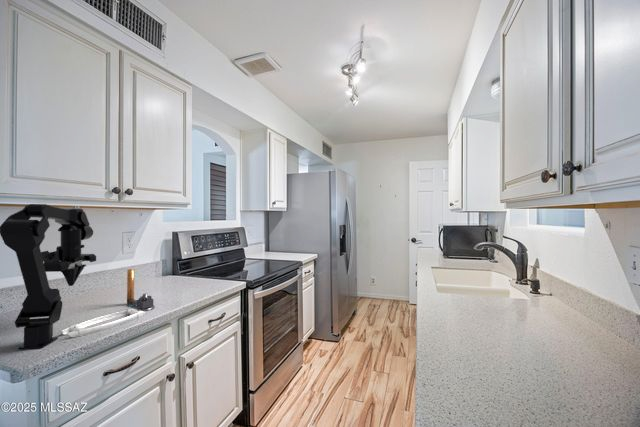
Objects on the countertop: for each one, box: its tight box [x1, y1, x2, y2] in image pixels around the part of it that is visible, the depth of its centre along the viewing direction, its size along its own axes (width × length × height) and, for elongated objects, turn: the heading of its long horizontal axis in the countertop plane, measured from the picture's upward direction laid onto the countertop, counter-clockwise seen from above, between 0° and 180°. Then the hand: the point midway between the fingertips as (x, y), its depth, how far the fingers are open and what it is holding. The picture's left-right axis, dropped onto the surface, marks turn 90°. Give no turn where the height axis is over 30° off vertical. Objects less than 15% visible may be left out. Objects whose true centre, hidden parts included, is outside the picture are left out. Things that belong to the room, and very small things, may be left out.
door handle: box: [60, 307, 146, 338], centre depth 104 cm, size 3×10×25 cm
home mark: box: [126, 304, 137, 308], centre depth 125 cm, size 3×3×1 cm
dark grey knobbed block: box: [134, 293, 156, 312], centre depth 121 cm, size 7×7×6 cm
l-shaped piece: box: [126, 268, 154, 309], centre depth 123 cm, size 15×4×15 cm, turn 61°
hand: (71, 285), depth 105 cm, fingers closed
